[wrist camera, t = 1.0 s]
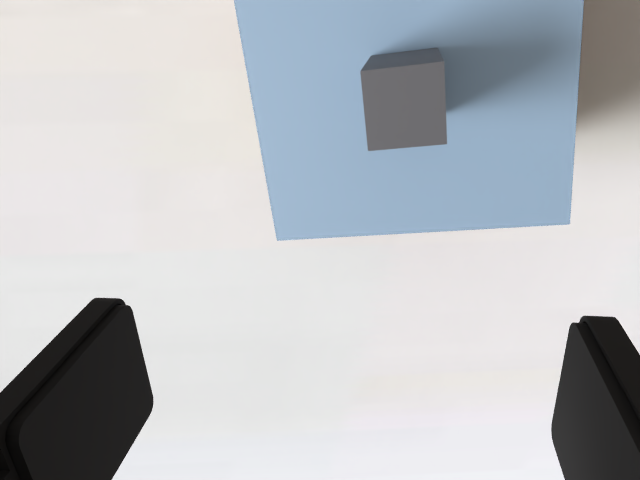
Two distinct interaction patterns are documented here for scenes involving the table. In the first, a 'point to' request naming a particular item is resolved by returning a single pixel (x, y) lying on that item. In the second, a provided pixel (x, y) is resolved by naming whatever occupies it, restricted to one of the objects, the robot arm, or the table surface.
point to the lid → (413, 112)
